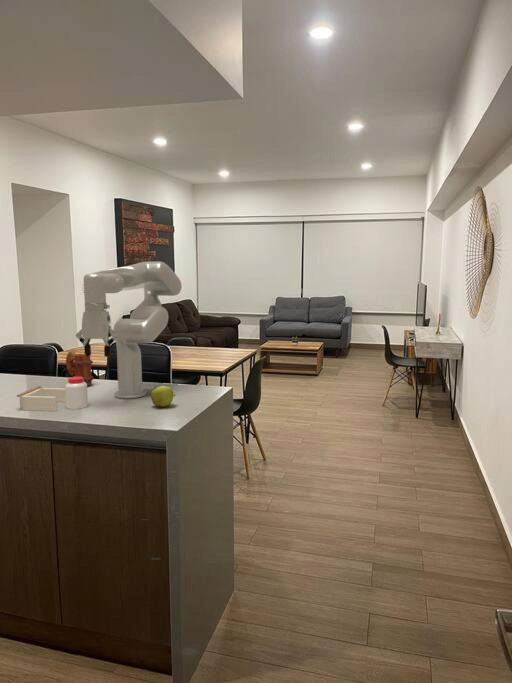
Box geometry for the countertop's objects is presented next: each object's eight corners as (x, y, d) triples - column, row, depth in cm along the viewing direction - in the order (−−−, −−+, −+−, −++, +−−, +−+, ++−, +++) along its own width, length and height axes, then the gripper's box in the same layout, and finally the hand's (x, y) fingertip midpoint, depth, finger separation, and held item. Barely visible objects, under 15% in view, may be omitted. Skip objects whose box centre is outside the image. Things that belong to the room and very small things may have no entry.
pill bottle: (80, 402, 198) (79, 375, 196) (92, 406, 193) (90, 377, 191) (62, 406, 192) (60, 378, 190) (73, 410, 187) (72, 381, 185)
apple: (178, 407, 191) (178, 386, 190) (155, 410, 186) (154, 389, 185) (171, 402, 198) (170, 382, 196) (148, 405, 193) (148, 385, 192)
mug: (98, 385, 228) (96, 352, 225) (83, 388, 221) (81, 354, 219) (76, 381, 235) (74, 349, 233) (61, 384, 228) (59, 351, 226)
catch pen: (73, 401, 200) (72, 387, 199) (55, 411, 186) (54, 396, 185) (38, 400, 201) (37, 386, 201) (17, 409, 187) (16, 395, 186)
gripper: (122, 307, 189) (123, 354, 191) (77, 307, 191) (79, 353, 193) (114, 308, 182) (116, 358, 184) (68, 308, 183) (70, 357, 186)
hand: (97, 355), depth 189 cm, fingers open, 6 cm apart
